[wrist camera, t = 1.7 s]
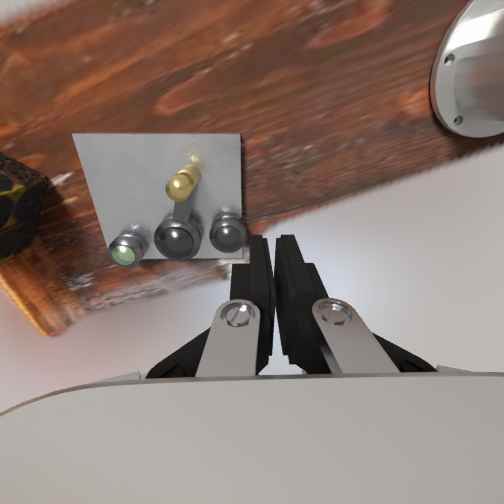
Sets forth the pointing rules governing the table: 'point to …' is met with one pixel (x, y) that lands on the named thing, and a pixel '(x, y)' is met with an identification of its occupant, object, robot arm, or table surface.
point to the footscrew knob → (180, 218)
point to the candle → (18, 206)
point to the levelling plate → (162, 189)
